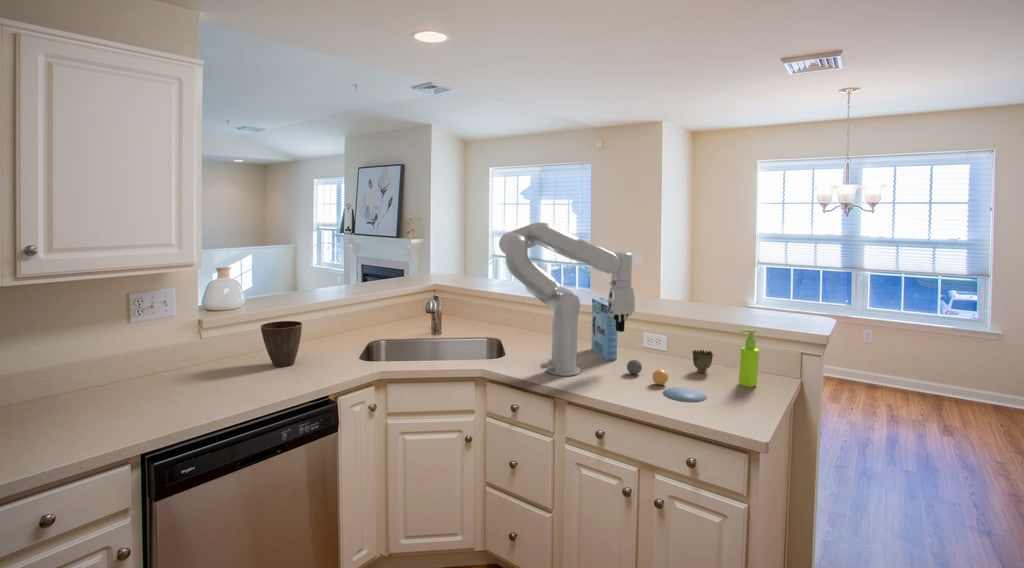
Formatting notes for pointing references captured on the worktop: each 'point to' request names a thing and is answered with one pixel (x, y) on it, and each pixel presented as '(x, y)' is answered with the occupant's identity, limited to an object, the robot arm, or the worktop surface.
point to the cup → (702, 360)
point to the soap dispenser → (749, 361)
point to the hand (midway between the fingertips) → (619, 330)
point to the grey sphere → (634, 367)
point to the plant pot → (282, 341)
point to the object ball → (660, 377)
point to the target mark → (685, 394)
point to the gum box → (603, 330)
